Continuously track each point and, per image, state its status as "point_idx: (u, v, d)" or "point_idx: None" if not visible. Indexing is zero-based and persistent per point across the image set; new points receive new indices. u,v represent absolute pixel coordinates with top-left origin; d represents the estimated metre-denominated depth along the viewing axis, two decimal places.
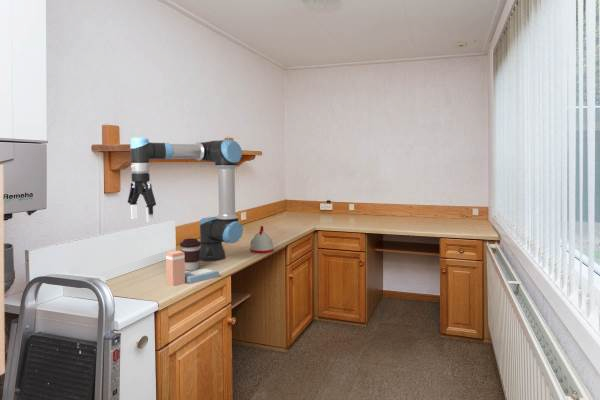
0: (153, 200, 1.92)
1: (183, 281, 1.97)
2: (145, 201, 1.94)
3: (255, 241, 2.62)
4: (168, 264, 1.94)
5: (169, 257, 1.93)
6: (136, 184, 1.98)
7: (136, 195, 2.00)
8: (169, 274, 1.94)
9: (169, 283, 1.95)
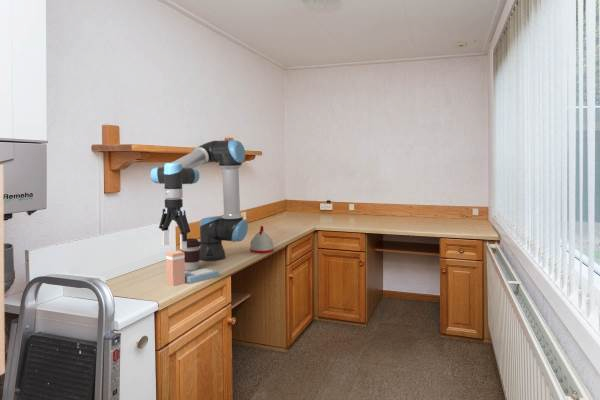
0: (187, 227, 1.89)
1: (183, 281, 1.97)
2: (179, 228, 1.90)
3: (255, 241, 2.62)
4: (168, 264, 1.94)
5: (169, 257, 1.93)
6: (169, 210, 1.94)
7: (168, 221, 1.97)
8: (169, 274, 1.94)
9: (169, 283, 1.95)
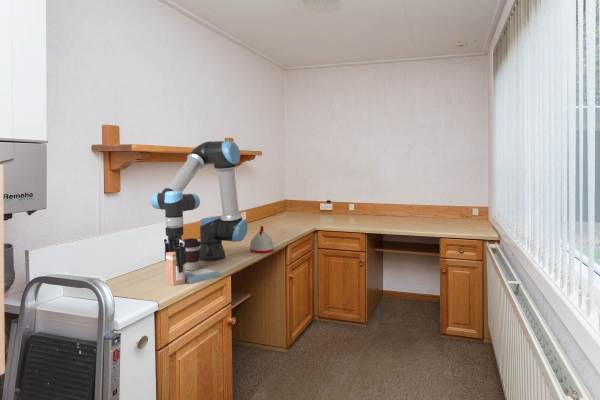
0: (184, 259, 1.92)
1: (183, 281, 1.97)
2: (176, 258, 1.93)
3: (255, 241, 2.62)
4: (168, 264, 1.94)
5: (169, 257, 1.93)
6: (169, 237, 1.96)
7: (172, 250, 1.97)
8: (169, 274, 1.94)
9: (169, 283, 1.95)
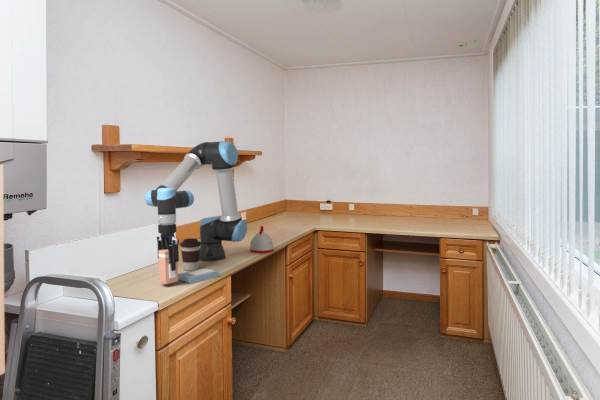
0: (177, 257, 1.89)
1: (176, 279, 1.94)
2: (169, 256, 1.90)
3: (255, 241, 2.62)
4: (160, 262, 1.92)
5: (162, 255, 1.90)
6: (162, 234, 1.93)
7: (165, 248, 1.94)
8: (162, 272, 1.91)
9: (162, 281, 1.92)
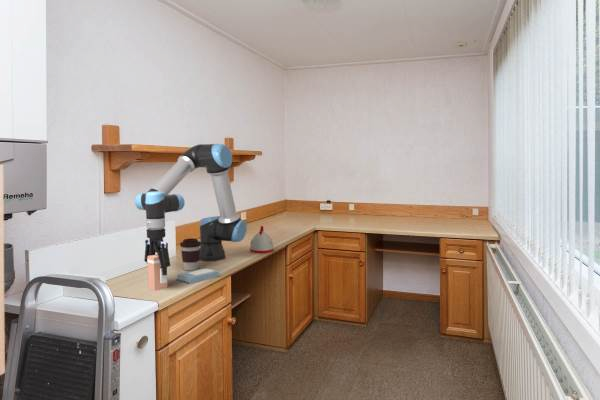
0: (168, 261, 1.84)
1: (165, 285, 1.90)
2: None
3: (255, 241, 2.62)
4: (149, 268, 1.88)
5: (151, 261, 1.87)
6: (151, 239, 1.89)
7: (152, 252, 1.90)
8: (151, 278, 1.88)
9: (150, 287, 1.88)
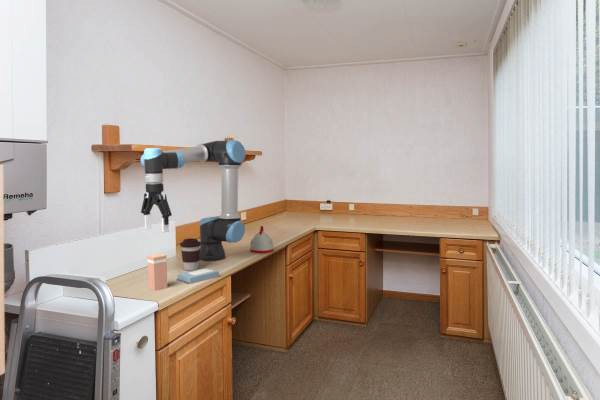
0: (169, 211, 1.92)
1: (165, 285, 1.90)
2: None
3: (255, 241, 2.62)
4: (149, 268, 1.88)
5: (151, 261, 1.87)
6: (150, 194, 1.98)
7: (150, 205, 2.00)
8: (151, 278, 1.88)
9: (150, 287, 1.88)
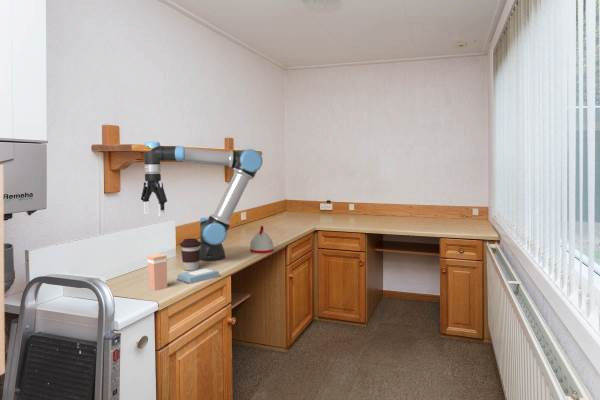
0: (164, 197, 2.17)
1: (165, 285, 1.90)
2: (157, 198, 2.18)
3: (255, 241, 2.62)
4: (149, 268, 1.88)
5: (151, 261, 1.87)
6: (149, 183, 2.22)
7: (149, 193, 2.25)
8: (151, 278, 1.88)
9: (150, 287, 1.88)
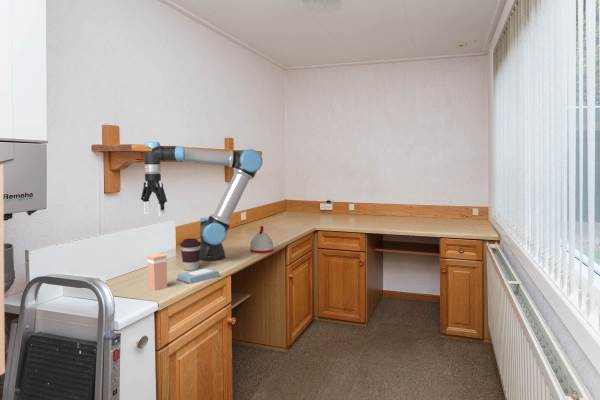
0: (164, 197, 2.17)
1: (165, 285, 1.90)
2: (157, 198, 2.18)
3: (255, 241, 2.62)
4: (149, 268, 1.88)
5: (151, 261, 1.87)
6: (149, 183, 2.23)
7: (148, 193, 2.25)
8: (151, 278, 1.88)
9: (150, 287, 1.88)
